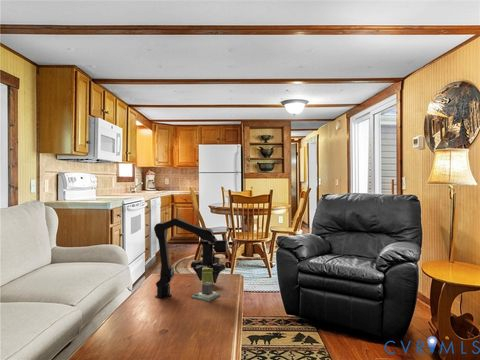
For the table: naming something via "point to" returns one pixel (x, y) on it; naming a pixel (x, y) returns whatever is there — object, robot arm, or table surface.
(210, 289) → the plug
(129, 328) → the table surface
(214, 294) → the board
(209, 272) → the plant pot
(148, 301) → the table surface
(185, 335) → the table surface
